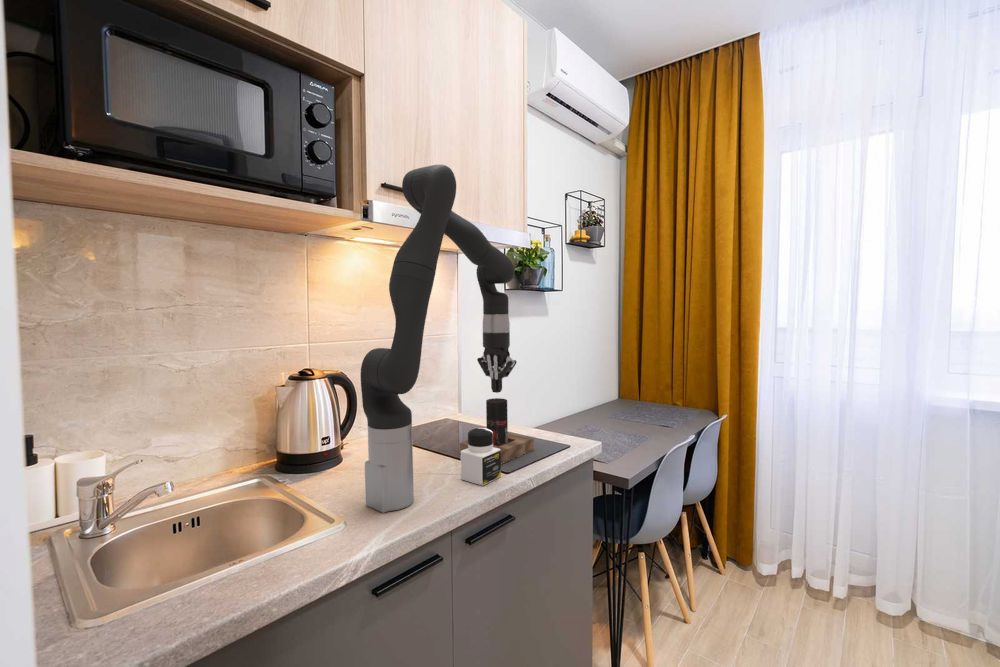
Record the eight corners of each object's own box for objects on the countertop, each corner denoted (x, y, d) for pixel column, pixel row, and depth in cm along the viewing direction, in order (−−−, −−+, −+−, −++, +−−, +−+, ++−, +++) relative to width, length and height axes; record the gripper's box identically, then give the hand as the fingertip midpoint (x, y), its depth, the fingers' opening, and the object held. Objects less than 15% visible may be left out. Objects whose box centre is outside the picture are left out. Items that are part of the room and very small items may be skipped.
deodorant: (487, 449, 136) (486, 398, 135) (508, 449, 136) (507, 398, 135) (486, 456, 130) (485, 402, 129) (507, 456, 130) (507, 402, 129)
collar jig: (498, 466, 123) (498, 452, 122) (459, 455, 131) (459, 442, 131) (534, 450, 135) (533, 438, 135) (496, 441, 144) (496, 430, 143)
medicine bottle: (483, 486, 109) (482, 435, 108) (460, 479, 114) (459, 430, 113) (501, 477, 115) (501, 428, 114) (479, 470, 119) (478, 424, 118)
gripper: (469, 330, 132) (470, 391, 133) (506, 332, 123) (506, 397, 125) (487, 328, 138) (487, 387, 139) (523, 330, 129) (523, 392, 130)
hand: (496, 392), depth 132 cm, fingers closed
